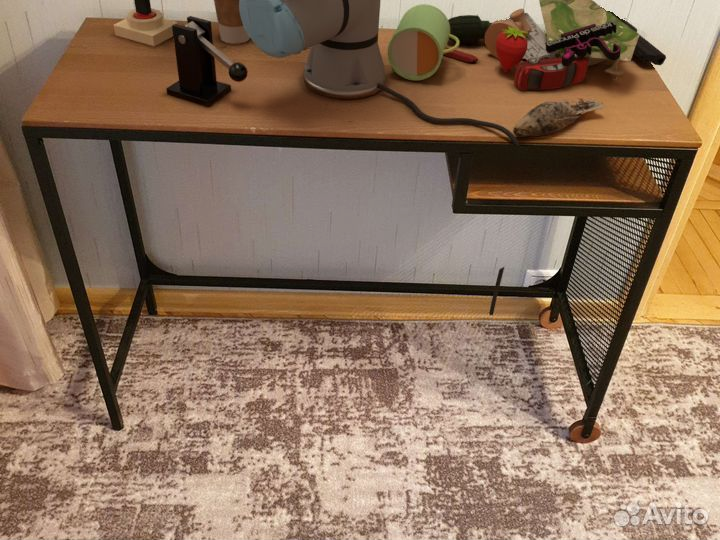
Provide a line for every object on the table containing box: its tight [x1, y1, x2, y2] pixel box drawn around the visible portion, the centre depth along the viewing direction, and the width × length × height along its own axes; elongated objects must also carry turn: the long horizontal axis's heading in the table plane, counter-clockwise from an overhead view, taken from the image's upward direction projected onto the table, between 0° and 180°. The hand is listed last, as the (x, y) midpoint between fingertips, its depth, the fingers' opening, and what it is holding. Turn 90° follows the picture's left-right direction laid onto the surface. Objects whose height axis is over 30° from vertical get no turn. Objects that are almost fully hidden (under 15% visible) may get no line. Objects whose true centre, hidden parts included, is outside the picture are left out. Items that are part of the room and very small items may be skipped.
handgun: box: [608, 11, 667, 66], centre depth 156 cm, size 4×29×15 cm
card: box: [538, 0, 640, 62], centre depth 142 cm, size 22×25×1 cm
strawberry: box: [496, 22, 530, 73], centre depth 138 cm, size 6×8×10 cm
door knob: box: [484, 8, 532, 60], centre depth 145 cm, size 8×10×8 cm
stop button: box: [134, 11, 155, 19], centre depth 145 cm, size 4×4×2 cm
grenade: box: [448, 14, 493, 45], centre depth 149 cm, size 6×6×12 cm
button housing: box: [112, 7, 179, 47], centre depth 146 cm, size 10×8×4 cm
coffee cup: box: [213, 0, 251, 45], centre depth 143 cm, size 8×8×15 cm
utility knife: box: [443, 46, 479, 63], centre depth 146 cm, size 12×1×2 cm
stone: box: [492, 12, 562, 61], centre depth 151 cm, size 22×3×10 cm
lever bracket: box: [166, 15, 232, 108], centre depth 125 cm, size 9×7×13 cm
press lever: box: [184, 21, 249, 83], centre depth 123 cm, size 13×3×3 cm, turn 63°
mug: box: [387, 3, 461, 81], centre depth 137 cm, size 13×10×12 cm
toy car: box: [513, 56, 589, 91], centre depth 137 cm, size 6×15×5 cm
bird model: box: [512, 98, 606, 138], centre depth 125 cm, size 21×6×5 cm, turn 126°
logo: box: [546, 21, 621, 66], centre depth 134 cm, size 13×2×10 cm
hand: (143, 12), depth 145 cm, fingers closed
